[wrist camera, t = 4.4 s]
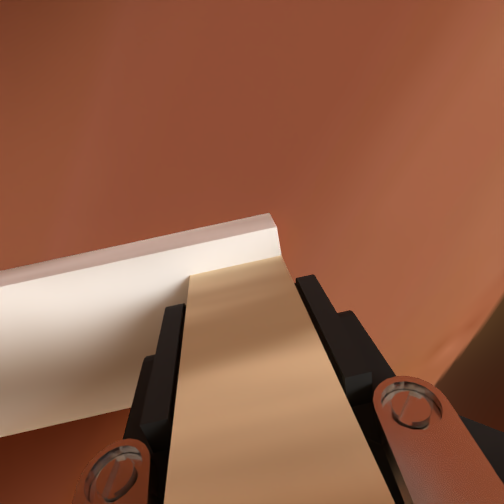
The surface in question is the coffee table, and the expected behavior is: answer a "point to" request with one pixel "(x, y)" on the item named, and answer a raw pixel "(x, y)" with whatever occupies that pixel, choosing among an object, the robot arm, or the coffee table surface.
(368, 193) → the coffee table surface
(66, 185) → the coffee table surface
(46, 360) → the white-handled mallet
